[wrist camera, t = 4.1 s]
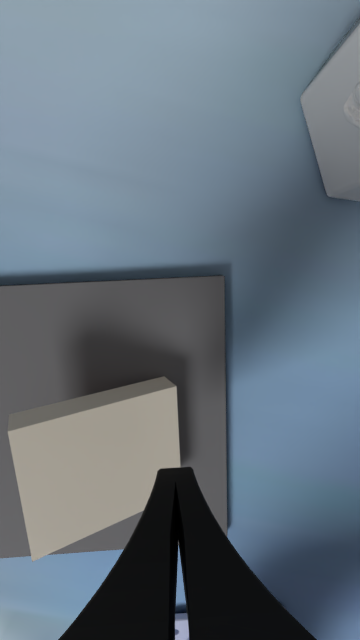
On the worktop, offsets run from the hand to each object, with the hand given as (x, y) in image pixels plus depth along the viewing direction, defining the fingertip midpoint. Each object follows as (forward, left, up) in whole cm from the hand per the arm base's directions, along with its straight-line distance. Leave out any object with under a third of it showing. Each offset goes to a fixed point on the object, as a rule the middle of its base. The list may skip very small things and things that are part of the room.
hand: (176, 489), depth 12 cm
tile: (0, 0, -4) cm, 4 cm away
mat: (0, +5, -5) cm, 7 cm away
